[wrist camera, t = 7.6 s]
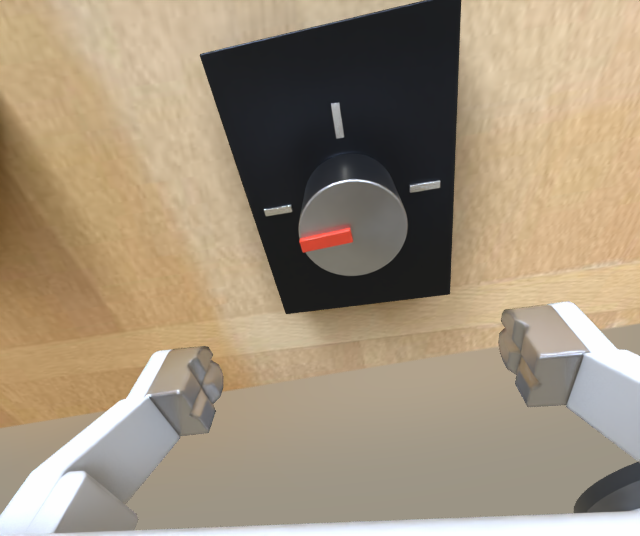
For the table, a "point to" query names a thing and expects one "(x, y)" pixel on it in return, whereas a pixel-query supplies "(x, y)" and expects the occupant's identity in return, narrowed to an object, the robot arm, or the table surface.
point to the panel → (348, 139)
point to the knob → (351, 216)
